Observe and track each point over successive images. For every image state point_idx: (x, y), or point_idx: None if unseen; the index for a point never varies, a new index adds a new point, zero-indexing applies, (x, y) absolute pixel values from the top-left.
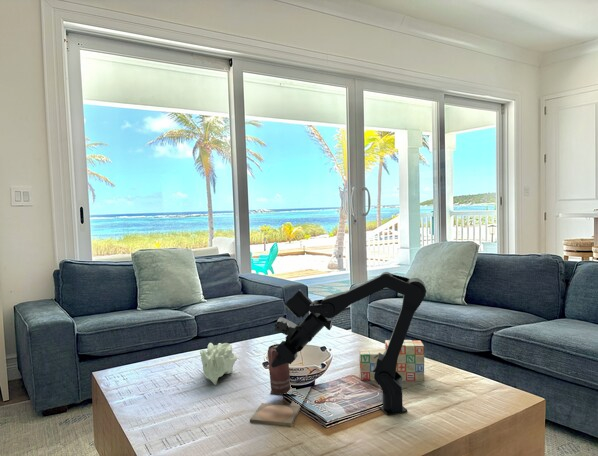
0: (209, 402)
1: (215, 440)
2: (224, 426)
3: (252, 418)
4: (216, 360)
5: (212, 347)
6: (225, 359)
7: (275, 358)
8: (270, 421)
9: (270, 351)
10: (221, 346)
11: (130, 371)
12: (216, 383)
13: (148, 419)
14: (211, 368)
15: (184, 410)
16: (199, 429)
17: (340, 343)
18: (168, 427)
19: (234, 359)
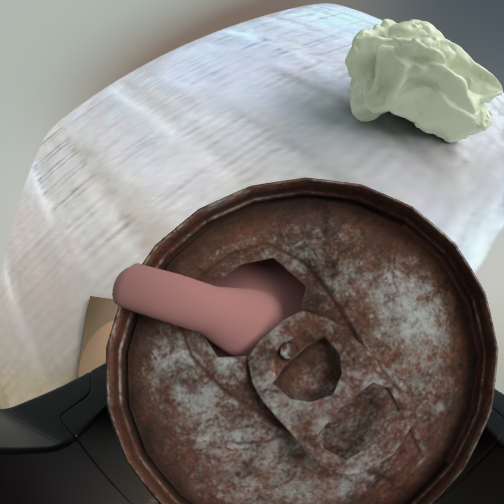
0: (234, 138)
1: (32, 237)
2: (82, 232)
3: (94, 303)
4: (376, 58)
5: (418, 32)
6: (418, 83)
7: (97, 371)
8: (78, 369)
9: (159, 258)
10: (451, 53)
11: (353, 18)
12: (362, 119)
13: (147, 84)
14: (350, 68)
15: (183, 111)
16: (81, 181)
17: None
18: (105, 124)
19: (470, 120)
